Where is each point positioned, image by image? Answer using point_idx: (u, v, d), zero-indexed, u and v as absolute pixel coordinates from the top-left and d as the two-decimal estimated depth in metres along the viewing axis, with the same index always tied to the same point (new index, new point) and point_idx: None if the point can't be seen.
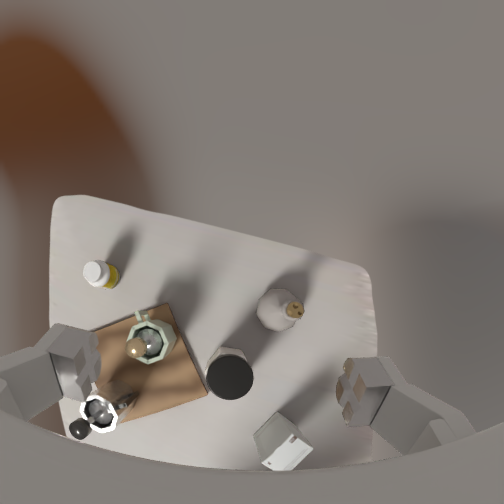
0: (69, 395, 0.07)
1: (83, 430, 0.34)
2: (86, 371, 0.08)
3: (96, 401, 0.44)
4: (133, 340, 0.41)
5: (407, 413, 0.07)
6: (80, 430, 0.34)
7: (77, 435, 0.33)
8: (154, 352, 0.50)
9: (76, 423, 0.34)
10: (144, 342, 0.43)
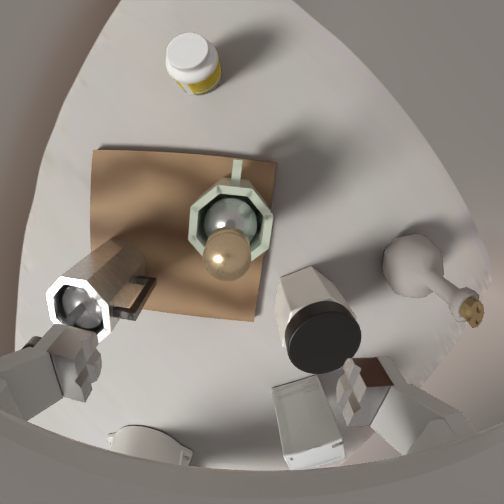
0: (70, 396, 0.07)
1: None
2: (86, 371, 0.08)
3: (81, 289, 0.26)
4: (235, 241, 0.18)
5: (407, 413, 0.07)
6: None
7: None
8: None
9: None
10: None
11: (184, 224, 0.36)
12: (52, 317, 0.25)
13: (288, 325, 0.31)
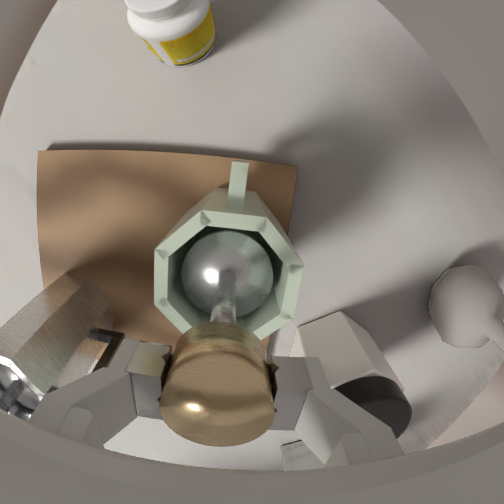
0: (146, 414, 0.07)
1: None
2: None
3: None
4: (235, 386, 0.07)
5: (326, 421, 0.07)
6: None
7: None
8: None
9: None
10: (269, 374, 0.08)
11: None
12: None
13: None
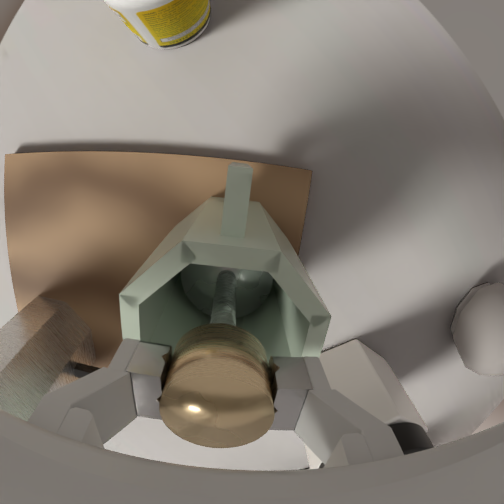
0: (146, 414, 0.07)
1: None
2: None
3: None
4: (235, 388, 0.07)
5: (326, 421, 0.07)
6: None
7: None
8: None
9: None
10: None
11: None
12: None
13: None
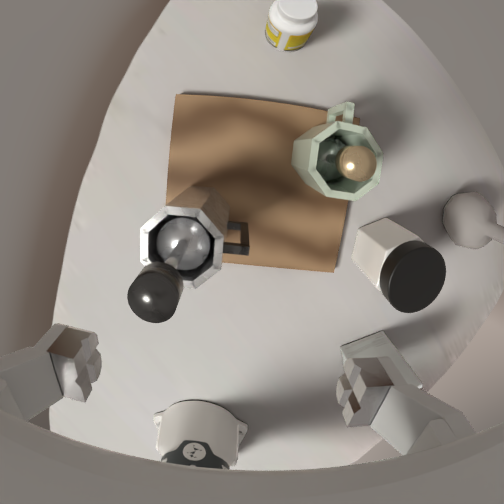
0: (70, 395, 0.07)
1: (172, 304, 0.17)
2: (86, 371, 0.08)
3: (186, 222, 0.26)
4: (366, 151, 0.23)
5: (407, 413, 0.07)
6: (162, 302, 0.17)
7: (144, 310, 0.17)
8: (329, 177, 0.32)
9: (160, 282, 0.16)
10: None
11: (273, 171, 0.36)
12: (143, 258, 0.26)
13: (385, 263, 0.31)
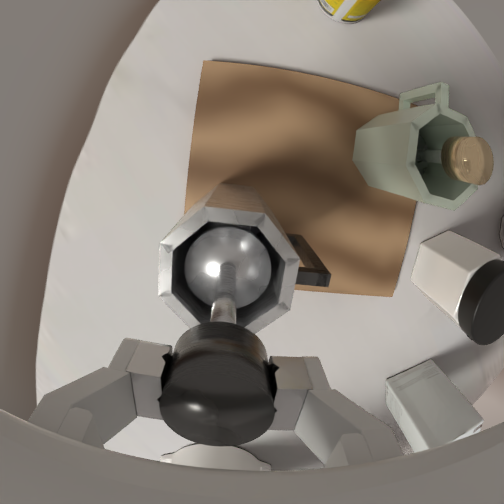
0: (146, 415, 0.07)
1: (264, 420, 0.07)
2: None
3: (236, 234, 0.16)
4: (484, 145, 0.13)
5: (326, 422, 0.07)
6: (241, 417, 0.07)
7: (199, 429, 0.07)
8: None
9: (243, 383, 0.07)
10: None
11: (331, 167, 0.27)
12: (163, 292, 0.16)
13: (468, 288, 0.22)
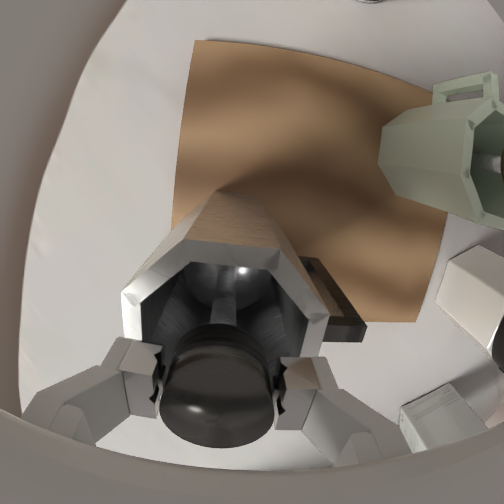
0: (138, 413, 0.07)
1: (264, 422, 0.07)
2: (157, 386, 0.08)
3: None
4: None
5: (334, 421, 0.07)
6: (241, 419, 0.07)
7: (198, 430, 0.07)
8: None
9: (243, 385, 0.07)
10: None
11: (352, 172, 0.21)
12: None
13: None
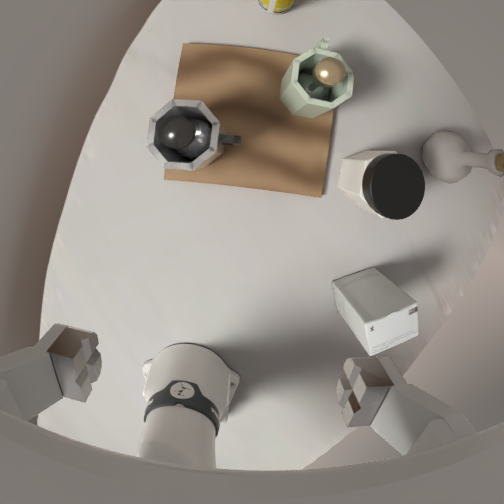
0: (70, 396, 0.07)
1: (188, 133, 0.25)
2: (86, 371, 0.08)
3: (196, 121, 0.34)
4: (336, 61, 0.26)
5: (407, 413, 0.07)
6: (182, 131, 0.25)
7: (169, 138, 0.25)
8: None
9: (182, 118, 0.24)
10: None
11: (264, 103, 0.39)
12: (149, 144, 0.28)
13: (366, 171, 0.34)
